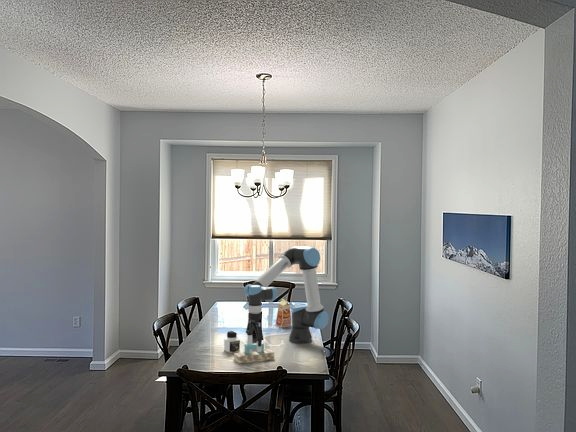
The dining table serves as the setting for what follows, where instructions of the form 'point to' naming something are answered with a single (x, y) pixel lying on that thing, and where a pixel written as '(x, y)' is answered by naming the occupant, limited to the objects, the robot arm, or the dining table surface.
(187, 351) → the dining table surface
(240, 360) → the cream toy brick
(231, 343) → the medicine bottle
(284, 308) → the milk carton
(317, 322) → the robot arm
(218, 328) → the dining table surface
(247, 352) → the teal arch block
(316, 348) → the dining table surface
